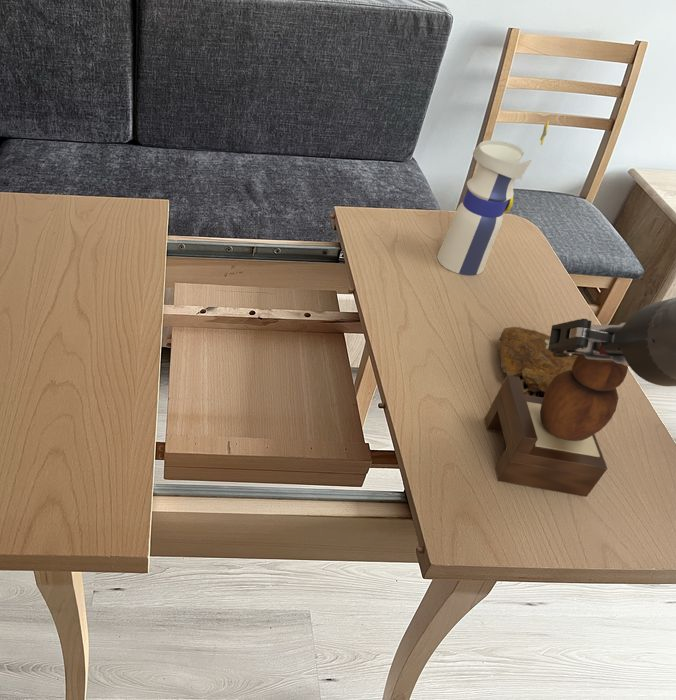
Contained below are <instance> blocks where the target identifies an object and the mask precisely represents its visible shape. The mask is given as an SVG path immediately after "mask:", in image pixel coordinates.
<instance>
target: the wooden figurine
mask: <svg viewBox="0 0 676 700" xmlns="http://www.w3.org/2000/svg"><path fill="white" fill-rule="evenodd" d="M599 353H600V355H608V354H607V353H606V352H605V351H604V350H603V349H602V347H601V345H600V351H599ZM628 368H629V366H623V365H620V364H617V363H613V362H596V361H592V360H589V359H587V358H585V356H577V358H576V359H575V361H574V364H573V366H572V370H568V371H565V372H562V373H560V374H558V375H557V376H556V377H554V378H553V379H552V381H551V382H550V384H549V386H548V388H547V390H546V392H545V395H543V397H542V398H543V401H542V405H541V410H540V418H541V422H542V425H543V426H544V428H545V429H546V430H547V431H548V432H549V433H551V434H552V435H554V436H556V437H558V438H560V439H564V440H569V441H582V440H585V439H587V438H589V437H591V436H592V435H594V434H595V435H596V434H597V433H599V432H600V431H601V430H603V429H604V428H605V427H606V426H607V425H608V424H609V423H610V421H611V420H612V418H613V417H614V414H615V413H616V410H617V406H618V402H619V394H618V390H617V388H618V387H619V386H621V385H622V384H623V382H624V381H625V378H626V377H627V374H628V370H629V369H628Z"/></svg>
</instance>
